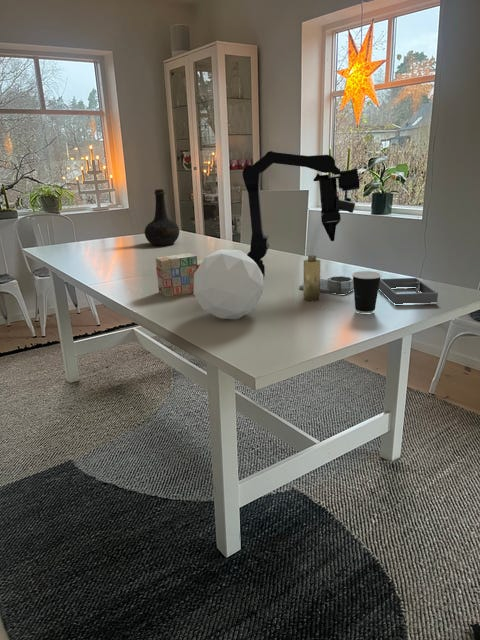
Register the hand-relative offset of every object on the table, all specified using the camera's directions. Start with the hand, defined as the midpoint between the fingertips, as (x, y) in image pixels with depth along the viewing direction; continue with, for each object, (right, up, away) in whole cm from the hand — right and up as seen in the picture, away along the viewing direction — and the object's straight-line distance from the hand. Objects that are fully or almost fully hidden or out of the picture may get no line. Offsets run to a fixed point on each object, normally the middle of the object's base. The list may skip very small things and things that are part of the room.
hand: (332, 238), depth 169 cm
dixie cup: (+3, -27, -33) cm, 42 cm away
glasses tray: (+19, -21, -20) cm, 35 cm away
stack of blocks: (-49, -19, -4) cm, 52 cm away
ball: (-35, -28, -32) cm, 55 cm away
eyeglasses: (+19, -21, -20) cm, 35 cm away
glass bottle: (-73, +11, +84) cm, 112 cm away
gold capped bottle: (-10, -22, -19) cm, 31 cm away
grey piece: (-2, -18, -8) cm, 19 cm away
